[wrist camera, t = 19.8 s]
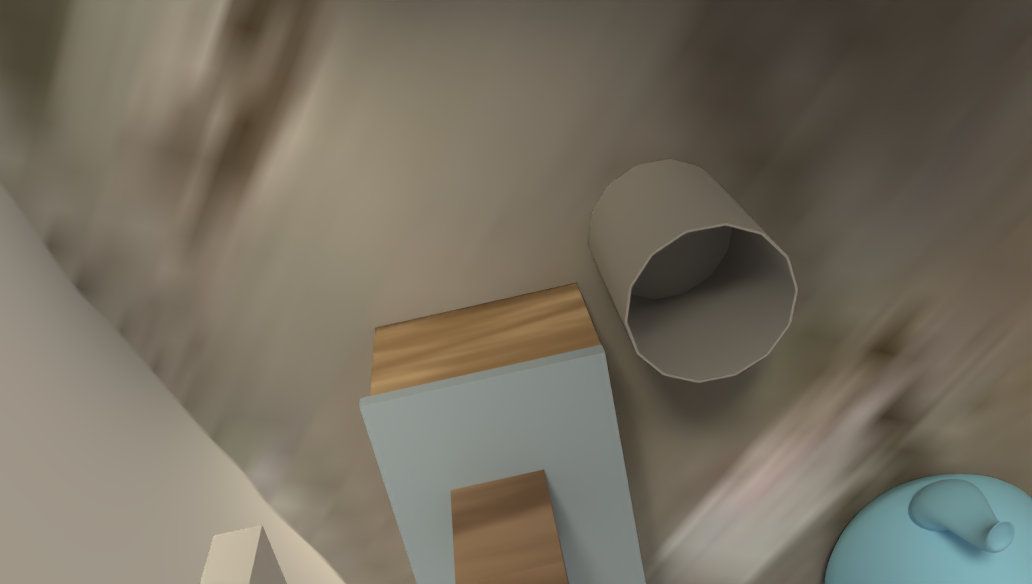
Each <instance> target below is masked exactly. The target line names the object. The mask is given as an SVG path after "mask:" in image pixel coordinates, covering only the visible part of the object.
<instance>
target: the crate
mask: <svg viewBox="0 0 1032 584" xmlns="http://www.w3.org/2000/svg"><path fill="white" fill-rule="evenodd" d="M598 345H601V344H600V341H599V339H598V336H597V333H596V331H595V328H594V326H593V323H592V321H591V318H590V316H589V313H588V311H587V308H586V306H585V303H584V300H583V298H582V295H581V293H580V290H579V288H578V285H577V283H574V284H569V285H565V286H560V287H556V288H551V289H547V290H542V291H538V292H534V293H529V294H525V295H520V296H516V297H511V298H507V299H502V300H498V301H493V302H489V303H484V304H480V305H476V306H471V307H467V308H462V309H458V310H453V311H449V312H444V313H440V314H435V315H431V316H426V317H422V318H418V319H413V320H409V321H404V322H400V323H395V324H391V325H386V326H382V327H377V328H375V339H374V352H373V365H372V378H371V391H370V396H372V395H377V394H381V393H386V392H390V391H395V390H399V389H404V388H408V387H413V386H417V385H422V384H426V383H431V382H435V381H440V380H444V379H449V378H453V377H458V376H462V375H467V374H471V373H476V372H480V371H485V370H489V369H494V368H498V367H503V366H507V365H512V364H516V363H521V362H525V361H530V360H535V359H539V358H544V357H548V356H553V355H557V354H562V353H566V352H571V351H575V350H580V349H584V348H589V347H593V346H598Z"/></svg>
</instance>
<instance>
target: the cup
mask: <svg viewBox="0 0 1032 584" xmlns="http://www.w3.org/2000/svg"><path fill="white" fill-rule="evenodd" d="M588 245H589V248H590V250H591V253H592V255H593V258H594V260H595V263H596V265H597V268H598V270H599V272H600V275H601V277H602V279H603V281H604V283H605V285H606V288H607V290H608V292H609V294H610V296H611V299H612V301H613V303H614V305H615V307H616V310H617V312H618V314H619V316H620V318H621V320H622V323H623V325H624V327H625V329H626V331H627V334H628V336H629V338H630V340H631V342H632V344H633V347H634V349H635V351H636V353H637V355H639V356H640V357H641V358H642V359H644V360H645V361H646V362H647V363H649V364H650V365H651V366H652V367H654V368H655V369H656V370H657V371H658V372H660V373H661V374H662V375H664V376H668V377H673V378H678V379H682V380H687V381H692V382H696V383H701V382H706V381H711V380H716V379H721V378H727V377H732V376H736V375H737V374H739V373H741V372H742V371H744V370H745V369H747V368H749V367H750V366H752V365H753V364H755V363H757V362H758V361H760V360H761V359H763V358H765V357H766V356H768V355H769V353H770V352H771V351H772V349H773V348H774V347H775V345H776V344H777V343H778V341H779V340H780V339H781V337H782V336H783V334H784V333H785V332H786V330H787V329H788V328H789V326H790V325H791V321H792V316H793V311H794V307H795V302H796V297H797V293H798V287H797V284H796V280H795V277H794V273H793V270H792V267H791V263H790V260H789V256H788V255H787V254H786V253H785V252H784V251H783V250H782V249H781V248H780V247H779V246H778V245H777V244H776V243H775V242H774V241H773V240H772V239H771V238H770V237H769V235H768V234H767V233H766V232H765V231H764V230H763V229H762V228H761V227H760V226H759V225H758V224H757V223H756V222H755V221H754V220H753V219H752V218H751V217H750V216H749V215H748V214H747V212H746V211H745V210H744V209H743V208H742V207H741V206H740V205H739V204H738V203H737V202H736V201H735V200H734V199H733V198H732V197H731V196H730V195H729V194H728V193H727V192H726V191H725V189H724V188H723V187H722V186H720V185H719V184H718V183H717V182H716V181H715V180H714V179H713V178H712V177H711V176H710V175H709V174H708V173H707V172H706V171H705V170H704V169H702V168H701V167H699V166H695V165H692V164H688V163H684V162H680V161H677V160H673V159H666V160H660V161H655V162H650V163H644V164H639V165H636V166H634V167H633V168H632V169H630V170H629V171H627V172H626V173H624V174H623V175H621V176H620V177H618V178H617V179H616V180H614V181H613V182H611V183H610V184H608V186H607V188H606V189H605V191H604V193H603V194H602V196H601V197H600V199H599V201H598V202H597V204H596V205H595V207H594V209H593V210H592V212H591V219H590V228H589V237H588Z"/></svg>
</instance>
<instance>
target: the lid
mask: <svg viewBox="0 0 1032 584" xmlns="http://www.w3.org/2000/svg"><path fill="white" fill-rule="evenodd" d="M359 407H360V410H361V413H362V416H363V419H364V422H365V425H366V429H367V432H368V435H369V438H370V441H371V444H372V447H373V450H374V453H375V456H376V459H377V462H378V466H379V469H380V472H381V475H382V478H383V481H384V484H385V487H386V490H387V493H388V496H389V499H390V502H391V506H392V509H393V512H394V515H395V518H396V521H397V524H398V527H399V530H400V533H401V536H402V539H403V543H404V546H405V549H406V552H407V555H408V558H409V561H410V564H411V567H412V570H413V573H414V576H415V580H416V583H417V584H455V566H454V548H453V529H452V511H451V492H450V490H454V489H458V488H463V487H467V486H472V485H476V484H481V483H485V482H490V481H494V480H499V479H503V478H507V477H512V476H516V475H521V474H525V473H530V472H534V471H539V470H543V469H544V472H545V477H546V481H547V486H548V490H549V494H550V499H551V503H552V507H553V512H554V516H555V521H556V525H557V529H558V534H559V538H560V543H561V547H562V552H563V557H564V561H565V566H566V571H567V576H568V580H569V584H646V582H645V576H644V570H643V565H642V559H641V553H640V548H639V542H638V537H637V531H636V525H635V520H634V514H633V508H632V503H631V497H630V491H629V486H628V480H627V474H626V469H625V463H624V457H623V452H622V446H621V440H620V435H619V429H618V423H617V418H616V412H615V407H614V401H613V395H612V390H611V384H610V378H609V373H608V367H607V361H606V356H605V351H604V349H603V346H602V345H598V346H593V347H589V348H584V349H580V350H575V351H571V352H566V353H562V354H557V355H553V356H548V357H544V358H539V359H535V360H530V361H525V362H521V363H516V364H512V365H507V366H503V367H498V368H494V369H489V370H485V371H480V372H476V373H471V374H467V375H462V376H458V377H453V378H449V379H444V380H440V381H435V382H431V383H426V384H422V385H417V386H413V387H408V388H404V389H399V390H395V391H390V392H386V393H381V394H377V395H372V396H368V397H363V398H360V406H359Z"/></svg>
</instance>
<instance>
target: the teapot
mask: <svg viewBox="0 0 1032 584" xmlns="http://www.w3.org/2000/svg"><path fill="white" fill-rule="evenodd" d="M825 584H1032V498H1031V497H1030V496H1029V495H1027V494H1026V493H1025V492H1024V491H1022V490H1021V489H1019V488H1017V487H1015V486H1014V485H1012V484H1009V483H1007V482H1004V481H1002V480H999V479H996V478H993V477H989V476H984V475H976V474H942V475H935V476H928V477H923V478H919V479H915V480H911V481H909V482H906V483H903V484H900V485H898V486H896V487H894V488H892V489H889V490H888V491H886V492H884V493H882V494H881V495H879V496H877V497H876V498H875V499H873V500H872V501H871V502H869V503H868V504H867V505H866V506H864V507H863V508H862V509H861V510H860V511H859V512H858V513H857V514H856V515H855V516H854V517H853V518H852V520H851V521H850V522H849V524H848V525H847V526H846V528H845V529H844V531H843V532H842V534H841V536H840V538H839V539H838V541H837V543H836V545H835V547H834V549H833V552H832V554H831V557H830V560H829V562H828V566H827V570H826V574H825Z"/></svg>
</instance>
